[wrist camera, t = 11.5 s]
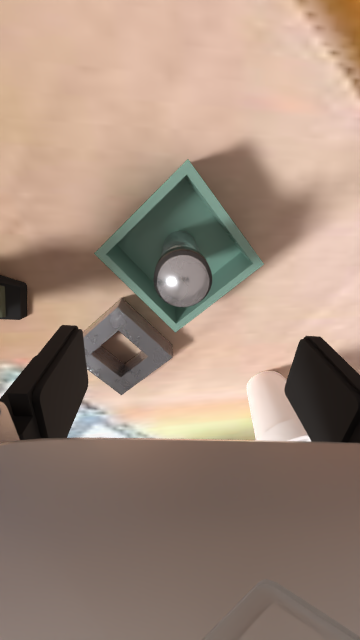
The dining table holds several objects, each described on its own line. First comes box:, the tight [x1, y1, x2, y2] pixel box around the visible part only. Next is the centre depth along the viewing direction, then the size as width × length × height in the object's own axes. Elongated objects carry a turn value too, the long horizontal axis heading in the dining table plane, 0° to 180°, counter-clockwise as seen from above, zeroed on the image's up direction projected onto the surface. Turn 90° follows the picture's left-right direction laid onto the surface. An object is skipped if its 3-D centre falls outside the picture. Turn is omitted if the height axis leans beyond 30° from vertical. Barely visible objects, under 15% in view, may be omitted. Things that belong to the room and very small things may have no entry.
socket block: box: [83, 298, 173, 395], centre depth 36 cm, size 10×10×3 cm
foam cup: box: [247, 371, 312, 442], centre depth 36 cm, size 10×9×13 cm
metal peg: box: [154, 231, 212, 307], centre depth 25 cm, size 5×5×12 cm
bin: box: [94, 159, 264, 332], centre depth 28 cm, size 12×12×6 cm
